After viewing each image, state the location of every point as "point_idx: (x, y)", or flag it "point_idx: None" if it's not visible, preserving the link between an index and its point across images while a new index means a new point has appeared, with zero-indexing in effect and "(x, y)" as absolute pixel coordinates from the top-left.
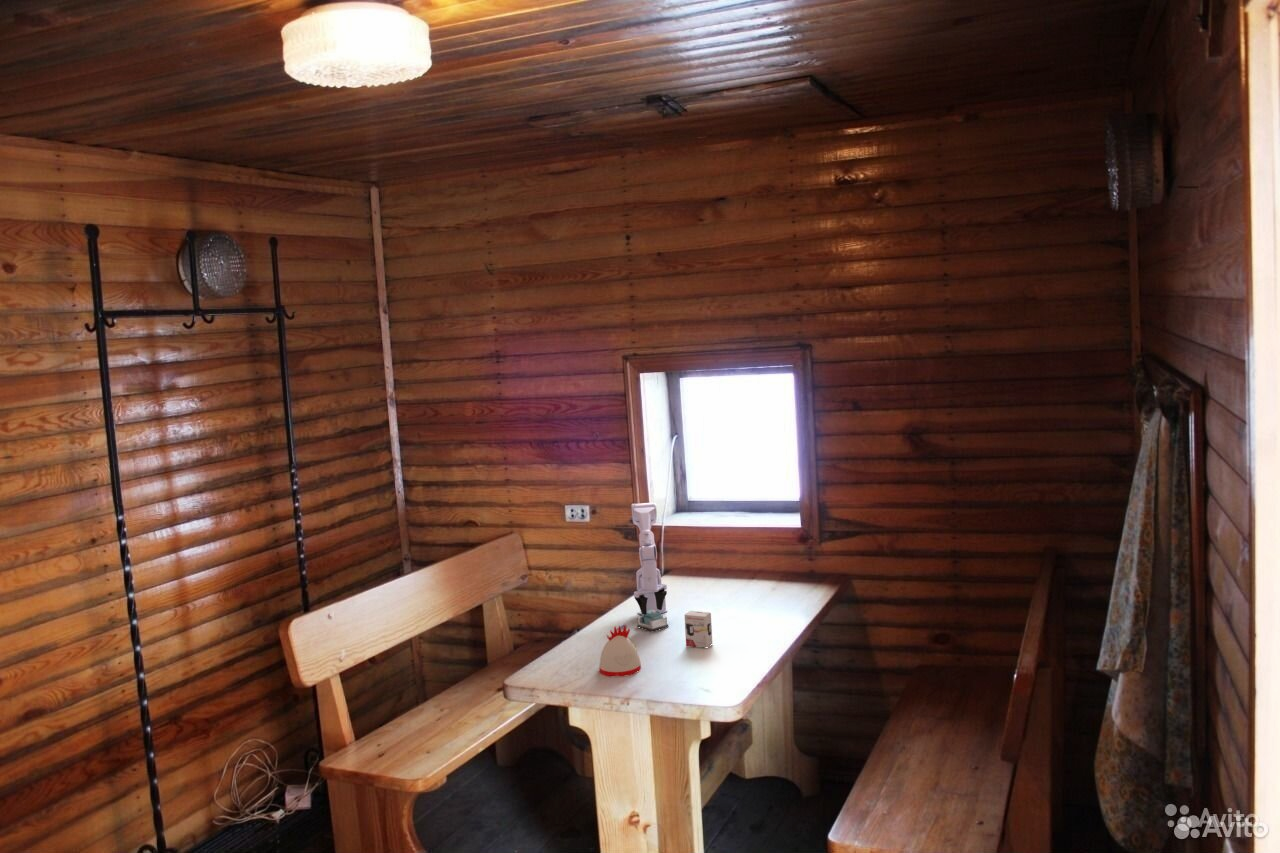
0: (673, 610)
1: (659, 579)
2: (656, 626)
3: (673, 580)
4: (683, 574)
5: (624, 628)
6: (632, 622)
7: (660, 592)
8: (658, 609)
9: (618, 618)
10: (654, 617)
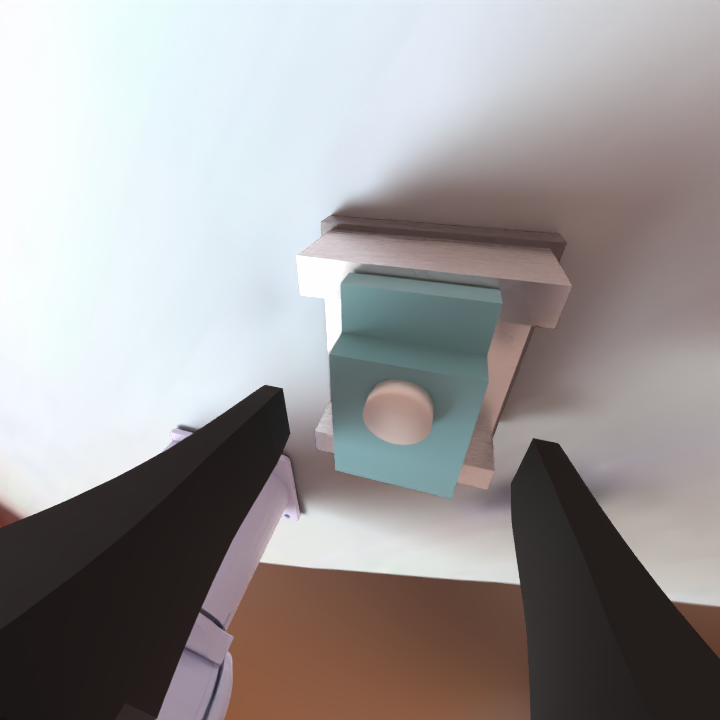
0: (141, 415)
1: None
2: (484, 248)
3: None
4: None
5: None
6: None
7: (25, 703)
8: (286, 418)
9: (405, 549)
10: (491, 316)
